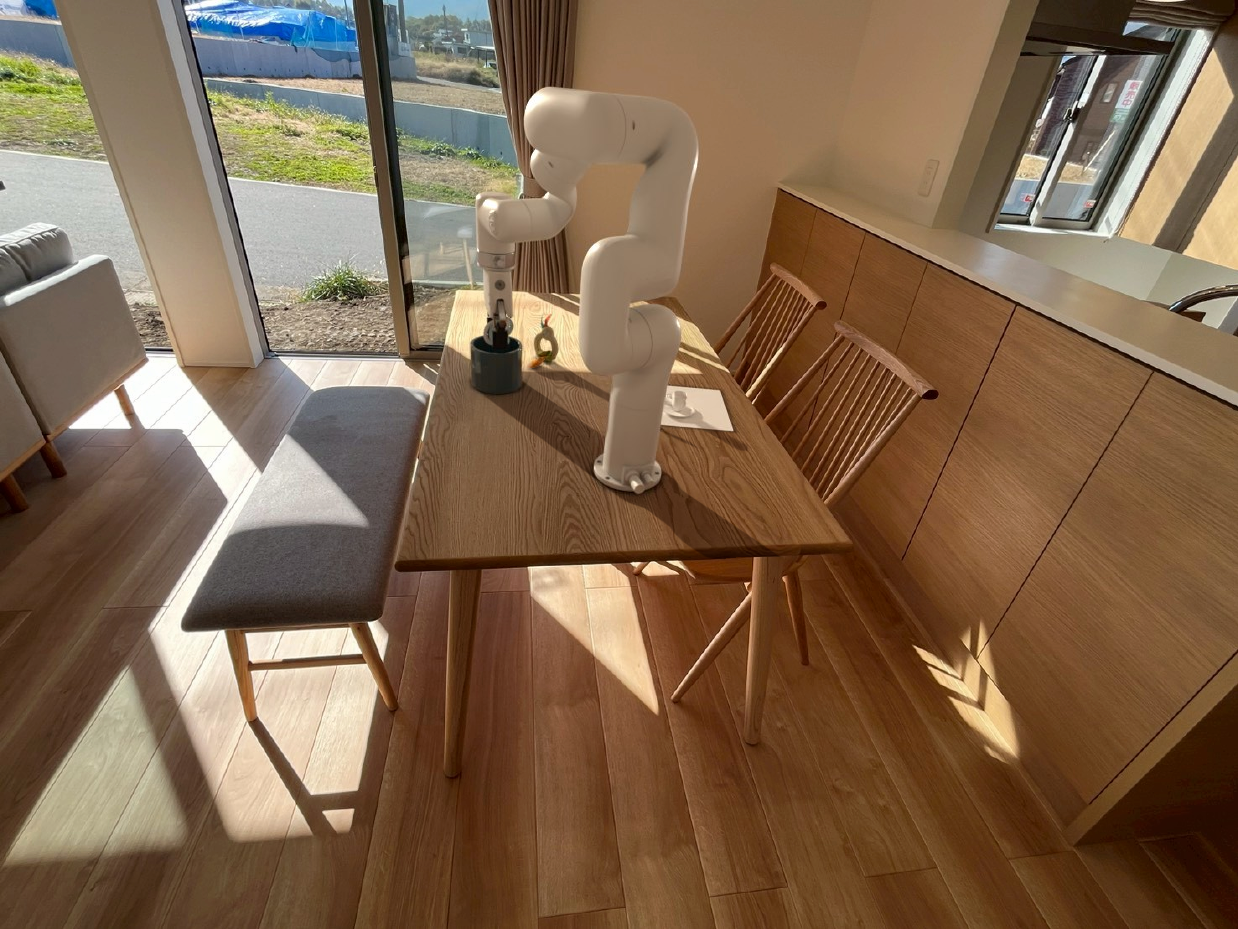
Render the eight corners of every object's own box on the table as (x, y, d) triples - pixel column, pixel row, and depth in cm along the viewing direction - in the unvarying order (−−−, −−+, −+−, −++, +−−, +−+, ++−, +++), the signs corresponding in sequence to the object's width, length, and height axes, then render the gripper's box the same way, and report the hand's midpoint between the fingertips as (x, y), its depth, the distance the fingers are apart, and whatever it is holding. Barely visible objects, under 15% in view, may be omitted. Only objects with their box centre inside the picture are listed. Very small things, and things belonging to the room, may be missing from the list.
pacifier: (479, 344, 129) (506, 352, 130) (480, 329, 123) (509, 337, 124) (487, 317, 132) (514, 325, 133) (489, 300, 126) (517, 309, 127)
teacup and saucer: (658, 398, 138) (660, 382, 136) (692, 401, 138) (695, 386, 136) (660, 416, 131) (663, 400, 128) (696, 420, 131) (699, 403, 129)
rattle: (516, 359, 148) (517, 314, 142) (543, 353, 153) (545, 309, 147) (533, 370, 144) (534, 324, 138) (560, 364, 149) (563, 319, 143)
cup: (525, 392, 134) (526, 353, 128) (474, 395, 130) (473, 354, 125) (516, 371, 142) (517, 333, 137) (469, 373, 139) (467, 334, 134)
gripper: (522, 271, 115) (521, 356, 125) (507, 248, 129) (507, 327, 139) (483, 270, 113) (485, 357, 123) (472, 247, 127) (474, 327, 136)
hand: (497, 341), depth 130 cm, fingers closed on pacifier, 7 cm apart
